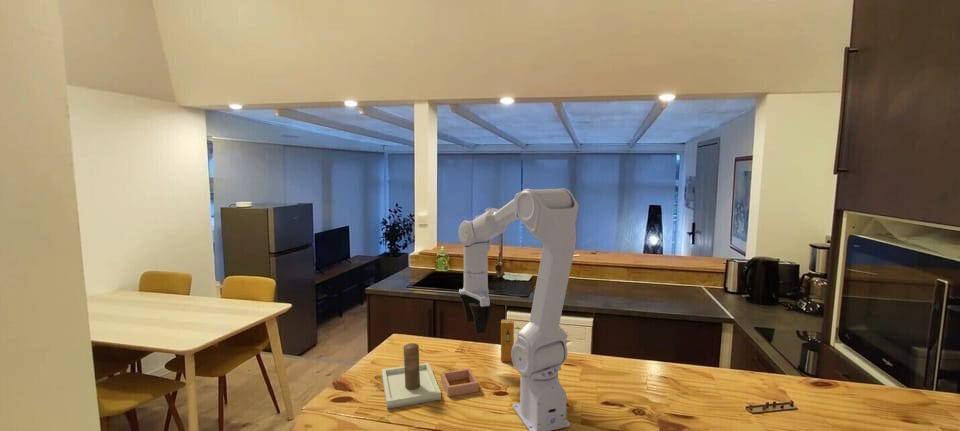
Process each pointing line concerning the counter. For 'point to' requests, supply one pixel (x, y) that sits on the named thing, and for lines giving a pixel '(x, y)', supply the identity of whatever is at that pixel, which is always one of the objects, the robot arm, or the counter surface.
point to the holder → (459, 388)
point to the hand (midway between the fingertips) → (475, 326)
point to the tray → (402, 396)
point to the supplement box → (507, 340)
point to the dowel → (411, 366)
